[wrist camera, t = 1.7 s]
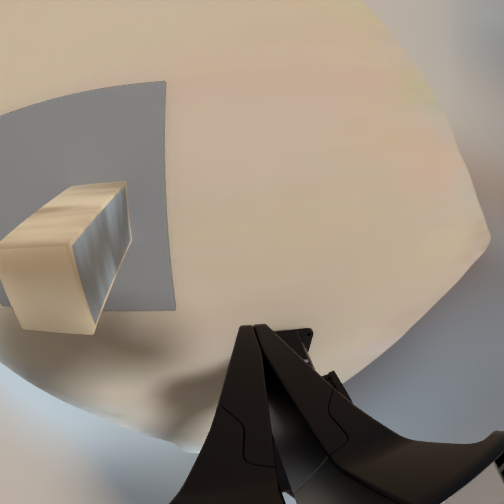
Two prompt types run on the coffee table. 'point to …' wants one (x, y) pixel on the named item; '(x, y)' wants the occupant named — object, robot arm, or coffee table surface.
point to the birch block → (67, 258)
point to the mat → (96, 176)
